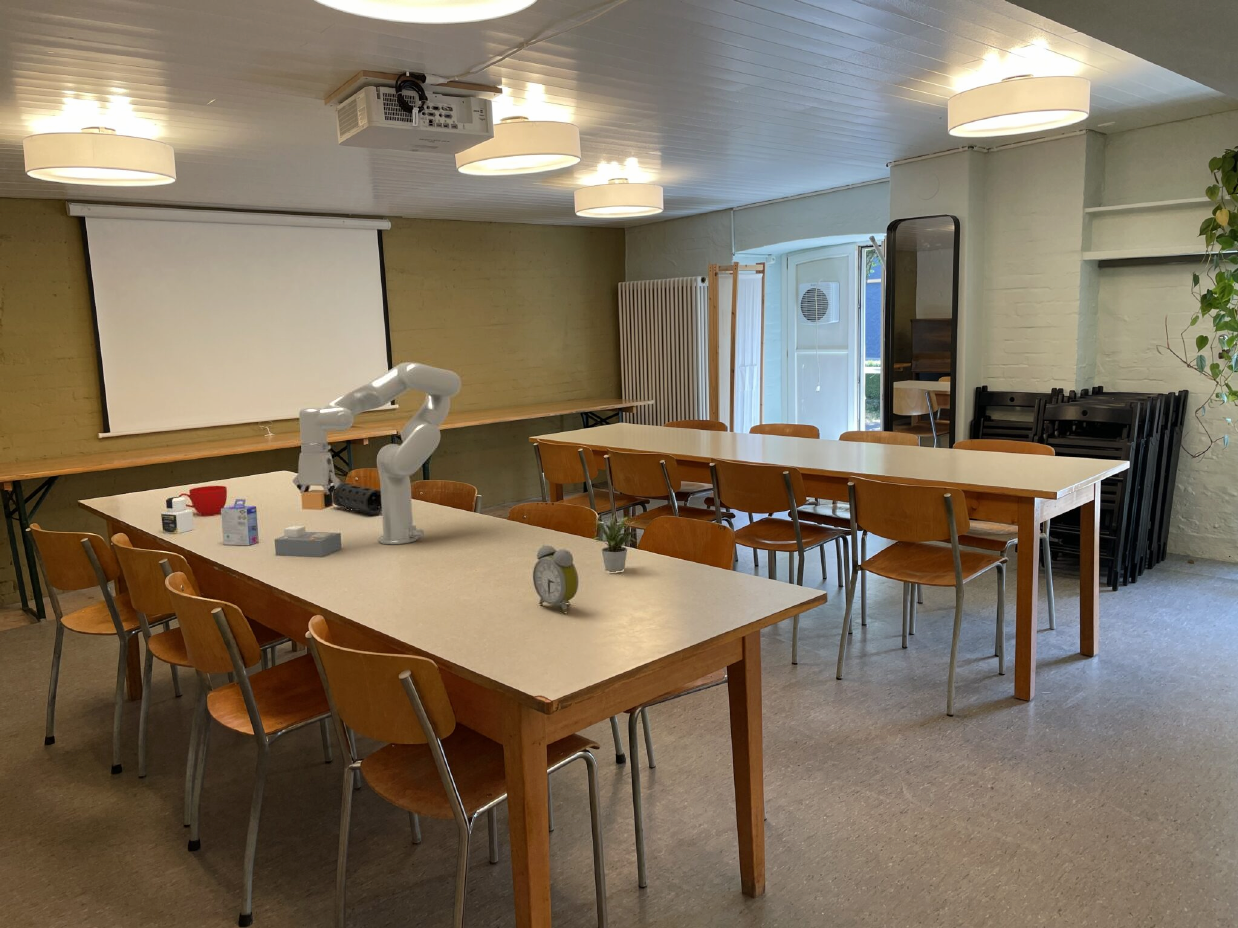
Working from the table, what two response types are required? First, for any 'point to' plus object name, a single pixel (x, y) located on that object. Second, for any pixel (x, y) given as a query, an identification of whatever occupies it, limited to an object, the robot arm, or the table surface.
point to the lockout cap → (314, 500)
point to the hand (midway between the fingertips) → (317, 505)
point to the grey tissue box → (308, 545)
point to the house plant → (614, 545)
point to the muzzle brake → (358, 498)
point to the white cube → (294, 531)
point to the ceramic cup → (207, 499)
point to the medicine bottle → (177, 516)
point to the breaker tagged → (321, 535)
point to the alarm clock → (555, 576)
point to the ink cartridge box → (239, 524)
